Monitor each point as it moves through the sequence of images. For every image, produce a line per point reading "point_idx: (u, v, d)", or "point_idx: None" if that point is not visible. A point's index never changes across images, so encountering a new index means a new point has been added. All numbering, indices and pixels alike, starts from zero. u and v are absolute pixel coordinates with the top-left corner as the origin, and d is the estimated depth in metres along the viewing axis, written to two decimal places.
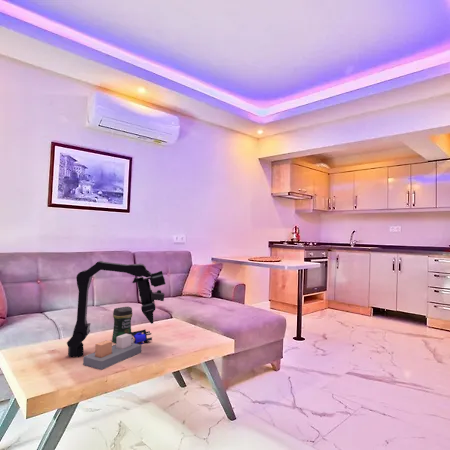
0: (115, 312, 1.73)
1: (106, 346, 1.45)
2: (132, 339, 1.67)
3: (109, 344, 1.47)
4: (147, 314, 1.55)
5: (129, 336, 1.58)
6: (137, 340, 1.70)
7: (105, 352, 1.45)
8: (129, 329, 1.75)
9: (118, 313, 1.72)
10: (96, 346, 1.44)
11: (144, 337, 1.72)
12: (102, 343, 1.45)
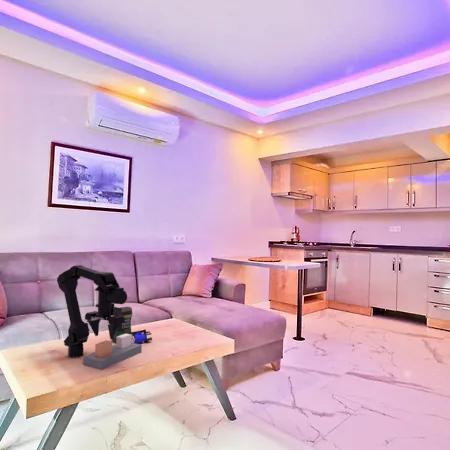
0: None
1: (106, 346, 1.45)
2: (132, 339, 1.67)
3: (109, 344, 1.47)
4: (112, 328, 1.43)
5: (129, 336, 1.58)
6: (137, 340, 1.70)
7: (105, 352, 1.45)
8: (129, 329, 1.75)
9: None
10: (96, 346, 1.44)
11: (144, 337, 1.72)
12: (102, 343, 1.45)
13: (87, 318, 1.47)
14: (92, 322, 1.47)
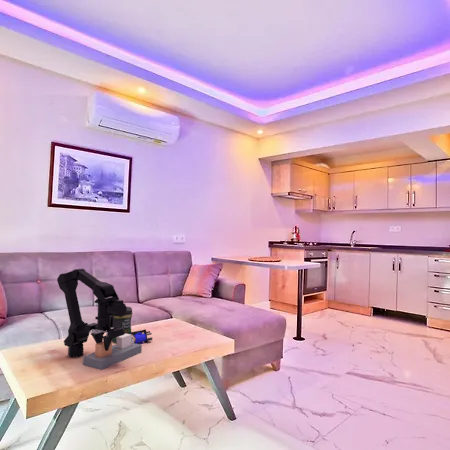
0: None
1: None
2: (132, 339, 1.67)
3: None
4: (107, 340, 1.44)
5: (129, 336, 1.58)
6: (137, 340, 1.70)
7: (105, 352, 1.45)
8: (129, 329, 1.75)
9: None
10: (96, 346, 1.44)
11: (144, 337, 1.72)
12: (102, 343, 1.45)
13: (87, 330, 1.47)
14: (96, 335, 1.46)
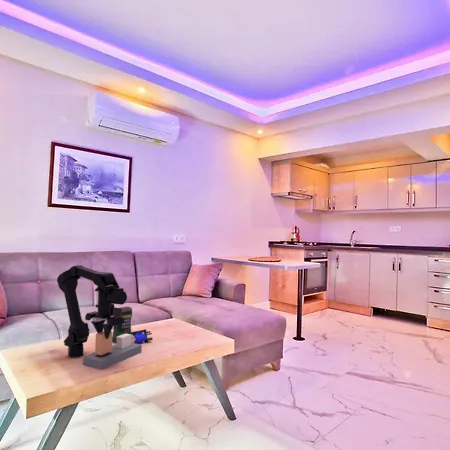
0: None
1: None
2: (132, 339, 1.67)
3: None
4: (107, 328, 1.44)
5: (129, 336, 1.58)
6: (137, 340, 1.70)
7: (106, 342, 1.45)
8: (129, 329, 1.75)
9: None
10: (96, 336, 1.44)
11: (144, 337, 1.73)
12: (102, 333, 1.45)
13: (87, 318, 1.48)
14: (96, 323, 1.46)
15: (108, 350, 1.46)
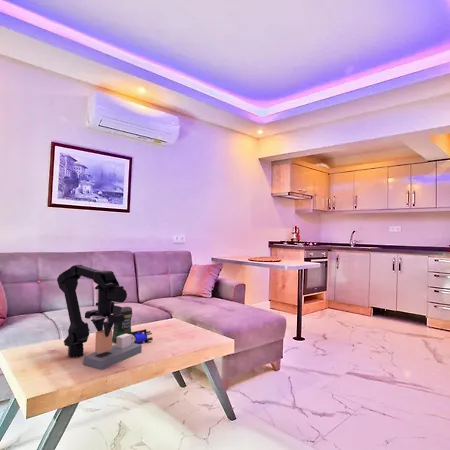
0: None
1: None
2: (132, 339, 1.68)
3: None
4: (107, 326, 1.44)
5: (129, 336, 1.58)
6: (137, 340, 1.70)
7: (106, 340, 1.45)
8: (129, 329, 1.75)
9: (118, 313, 1.72)
10: (96, 334, 1.44)
11: (144, 337, 1.73)
12: (102, 331, 1.45)
13: (87, 317, 1.47)
14: (96, 321, 1.46)
15: (108, 348, 1.46)
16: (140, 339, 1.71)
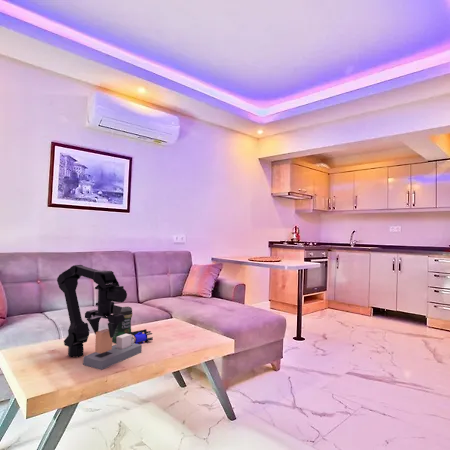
0: None
1: (106, 334, 1.45)
2: (132, 339, 1.68)
3: None
4: (112, 326, 1.43)
5: (129, 336, 1.58)
6: (138, 340, 1.70)
7: (106, 340, 1.45)
8: (129, 329, 1.75)
9: None
10: (96, 334, 1.44)
11: (145, 337, 1.73)
12: (102, 331, 1.45)
13: (87, 316, 1.47)
14: (92, 320, 1.47)
15: (108, 348, 1.46)
16: (140, 339, 1.71)
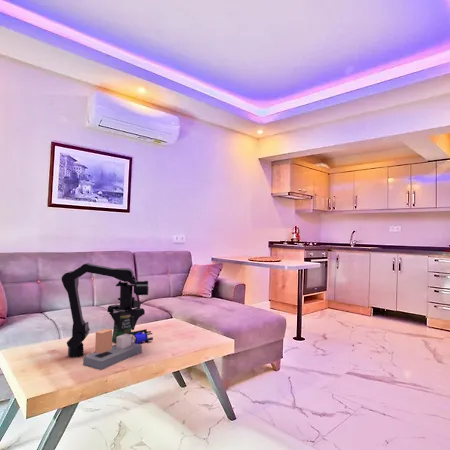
0: None
1: (106, 334, 1.45)
2: (132, 339, 1.68)
3: (109, 332, 1.47)
4: (133, 320, 1.55)
5: (129, 336, 1.58)
6: (138, 340, 1.70)
7: (106, 340, 1.45)
8: (129, 329, 1.75)
9: None
10: (96, 334, 1.44)
11: (145, 337, 1.73)
12: (102, 331, 1.45)
13: (109, 310, 1.59)
14: (114, 314, 1.59)
15: (108, 348, 1.46)
16: (140, 339, 1.71)
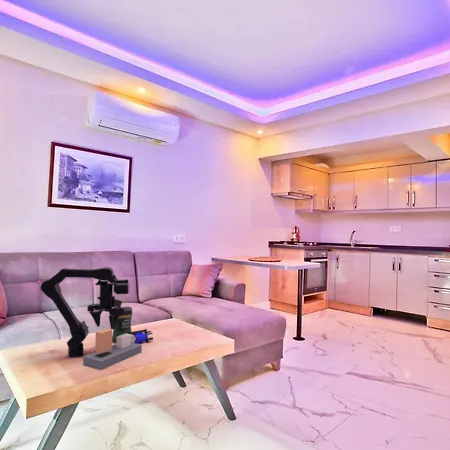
0: None
1: (106, 334, 1.45)
2: (133, 338, 1.68)
3: (109, 332, 1.47)
4: (113, 319, 1.54)
5: (129, 336, 1.58)
6: (138, 339, 1.71)
7: (106, 340, 1.45)
8: (129, 329, 1.75)
9: None
10: (96, 334, 1.44)
11: (145, 337, 1.73)
12: (102, 331, 1.45)
13: (89, 310, 1.58)
14: (94, 313, 1.58)
15: (108, 348, 1.46)
16: (140, 339, 1.71)
